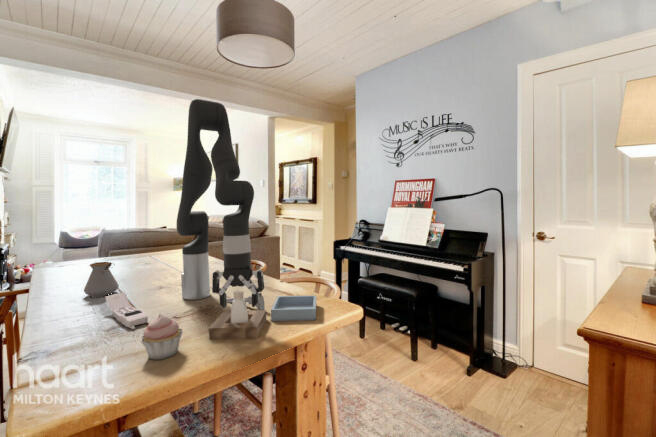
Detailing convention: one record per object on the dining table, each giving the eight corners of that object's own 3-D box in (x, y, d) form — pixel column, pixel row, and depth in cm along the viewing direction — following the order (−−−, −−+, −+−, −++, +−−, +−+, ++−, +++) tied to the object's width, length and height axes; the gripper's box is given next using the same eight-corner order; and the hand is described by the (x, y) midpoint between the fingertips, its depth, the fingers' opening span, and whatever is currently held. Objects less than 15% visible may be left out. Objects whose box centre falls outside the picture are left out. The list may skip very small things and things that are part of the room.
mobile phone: (124, 291, 111) (150, 306, 94) (125, 308, 111) (152, 325, 95) (103, 296, 106) (128, 312, 90) (105, 313, 107) (129, 332, 90)
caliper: (264, 311, 105) (264, 293, 105) (262, 312, 104) (261, 293, 104) (226, 301, 117) (225, 284, 116) (223, 301, 116) (223, 285, 116)
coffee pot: (81, 295, 127) (78, 258, 126) (114, 288, 135) (112, 254, 134) (94, 306, 112) (92, 265, 112) (130, 298, 121) (128, 260, 120)
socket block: (209, 339, 84) (208, 328, 84) (224, 320, 97) (224, 311, 97) (257, 338, 84) (257, 327, 84) (266, 319, 97) (266, 310, 97)
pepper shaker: (239, 334, 87) (237, 295, 86) (225, 330, 90) (224, 292, 89) (253, 327, 92) (252, 290, 91) (240, 323, 94) (239, 287, 94)
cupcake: (148, 347, 80) (146, 309, 79) (187, 343, 82) (185, 305, 82) (134, 366, 71) (132, 323, 70) (179, 360, 73) (177, 318, 72)
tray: (271, 321, 96) (270, 309, 96) (277, 306, 110) (277, 296, 109) (315, 320, 96) (315, 308, 96) (316, 305, 110) (316, 295, 110)
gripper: (207, 253, 85) (209, 311, 86) (259, 252, 86) (261, 310, 86) (216, 249, 93) (218, 303, 94) (264, 248, 93) (266, 301, 94)
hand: (239, 306), depth 90 cm, fingers open, 8 cm apart
